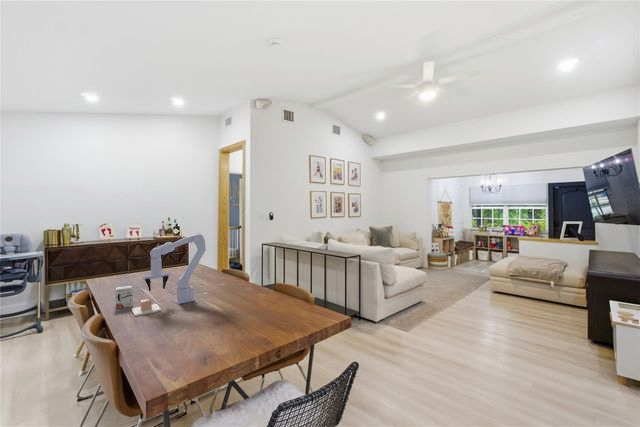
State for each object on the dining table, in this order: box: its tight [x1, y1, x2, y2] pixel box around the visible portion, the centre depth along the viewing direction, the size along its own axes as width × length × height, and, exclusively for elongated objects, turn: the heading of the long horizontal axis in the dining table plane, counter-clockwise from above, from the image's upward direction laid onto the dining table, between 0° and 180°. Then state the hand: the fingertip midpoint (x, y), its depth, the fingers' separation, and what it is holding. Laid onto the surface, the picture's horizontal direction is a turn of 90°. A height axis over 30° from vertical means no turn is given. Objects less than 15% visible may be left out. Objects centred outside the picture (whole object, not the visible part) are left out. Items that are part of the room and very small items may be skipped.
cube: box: [139, 298, 153, 311], centre depth 171 cm, size 5×5×5 cm
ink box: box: [115, 285, 134, 310], centre depth 179 cm, size 8×5×12 cm, turn 123°
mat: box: [131, 303, 162, 317], centre depth 171 cm, size 13×13×1 cm
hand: (156, 289), depth 181 cm, fingers open, 7 cm apart
